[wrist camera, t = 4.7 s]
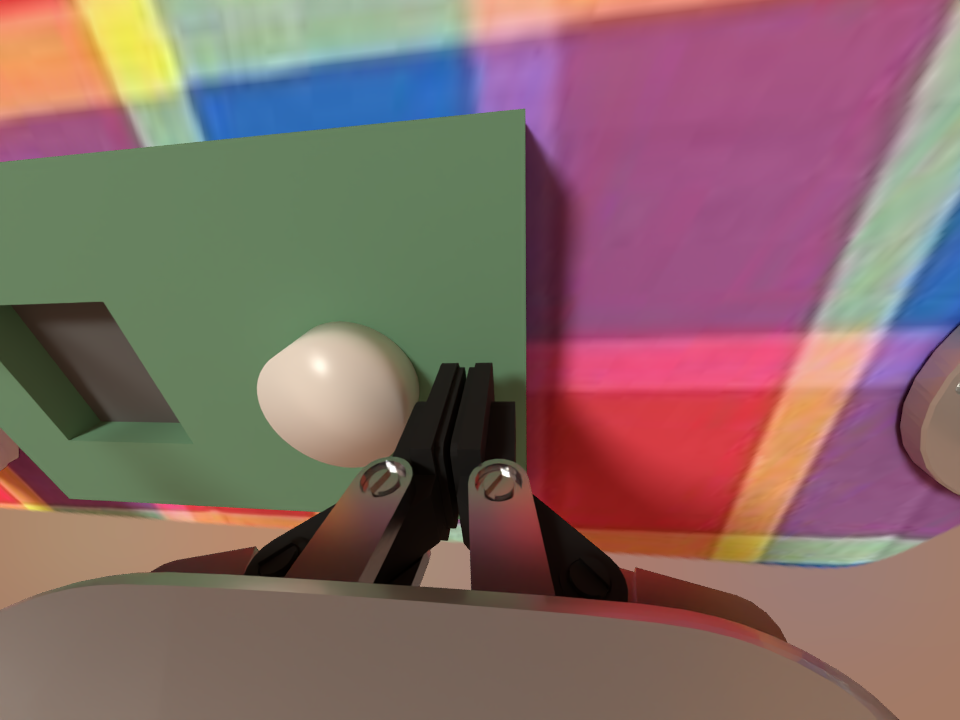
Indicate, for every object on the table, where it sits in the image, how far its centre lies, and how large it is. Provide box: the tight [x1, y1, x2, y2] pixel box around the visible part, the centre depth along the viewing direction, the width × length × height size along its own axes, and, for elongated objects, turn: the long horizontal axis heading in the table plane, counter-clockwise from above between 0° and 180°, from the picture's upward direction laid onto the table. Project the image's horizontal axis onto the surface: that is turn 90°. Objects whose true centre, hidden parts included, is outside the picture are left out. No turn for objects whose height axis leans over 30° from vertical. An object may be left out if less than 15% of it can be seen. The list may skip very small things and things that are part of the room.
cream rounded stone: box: [257, 321, 419, 468], centre depth 12 cm, size 5×5×2 cm
